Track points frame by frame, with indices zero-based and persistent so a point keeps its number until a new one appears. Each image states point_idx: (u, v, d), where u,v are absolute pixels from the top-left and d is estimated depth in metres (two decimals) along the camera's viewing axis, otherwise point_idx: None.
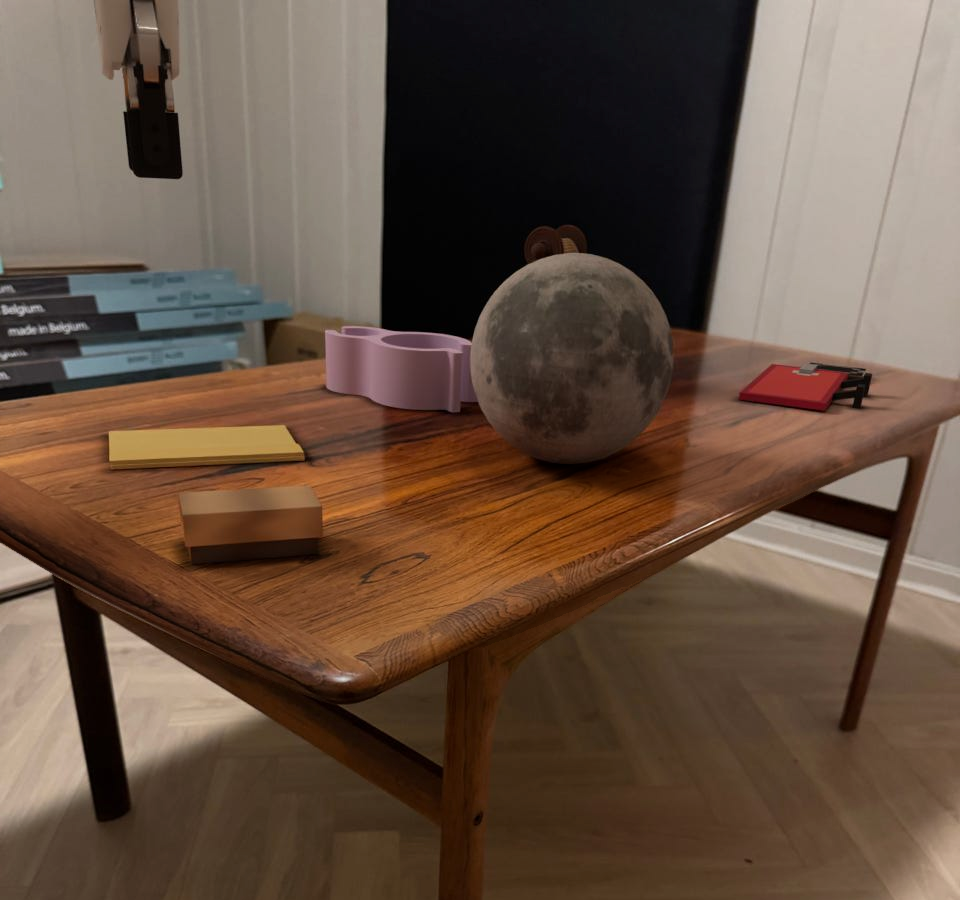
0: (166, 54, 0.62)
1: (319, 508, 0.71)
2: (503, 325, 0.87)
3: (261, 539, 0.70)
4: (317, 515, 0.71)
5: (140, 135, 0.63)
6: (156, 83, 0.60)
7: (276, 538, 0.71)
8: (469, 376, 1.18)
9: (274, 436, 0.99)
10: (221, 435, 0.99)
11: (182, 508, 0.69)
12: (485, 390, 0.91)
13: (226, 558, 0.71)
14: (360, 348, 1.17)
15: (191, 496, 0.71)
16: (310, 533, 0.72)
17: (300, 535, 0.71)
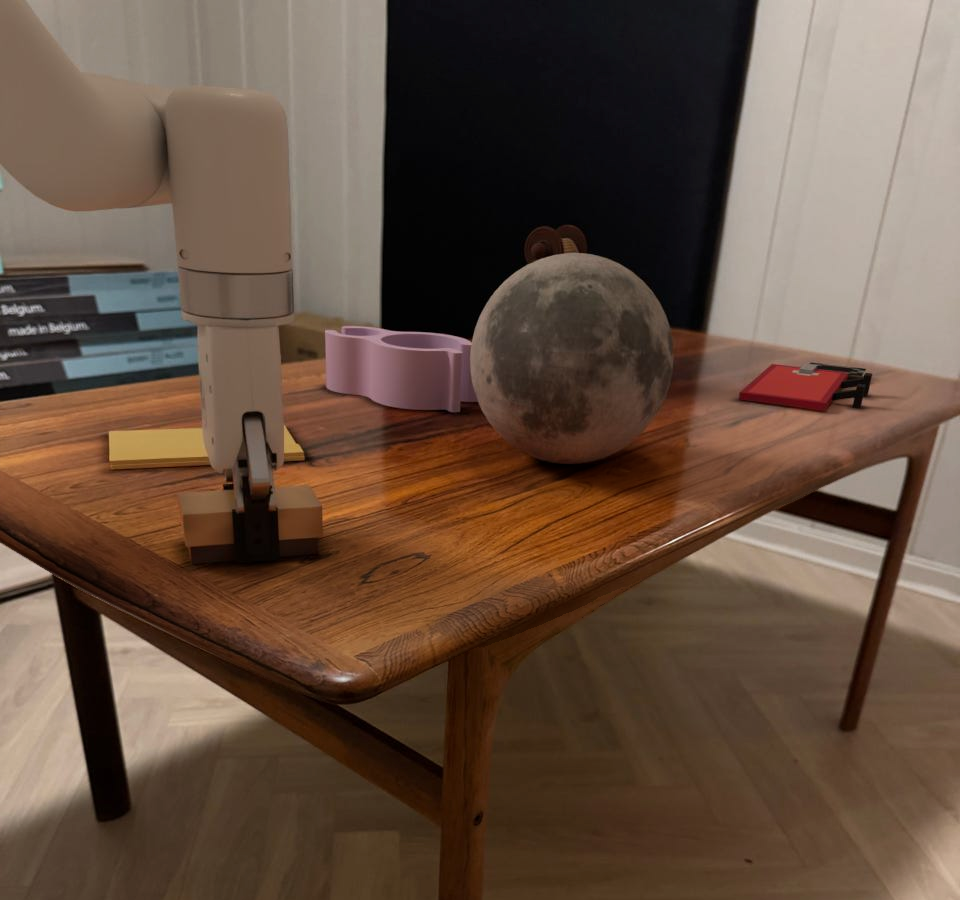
0: (270, 459, 0.67)
1: (319, 508, 0.71)
2: (503, 325, 0.87)
3: None
4: (317, 515, 0.71)
5: (243, 530, 0.69)
6: None
7: None
8: (469, 376, 1.18)
9: None
10: None
11: (182, 508, 0.69)
12: (485, 390, 0.91)
13: (226, 558, 0.71)
14: (360, 348, 1.17)
15: (191, 496, 0.71)
16: (310, 533, 0.72)
17: (300, 535, 0.71)
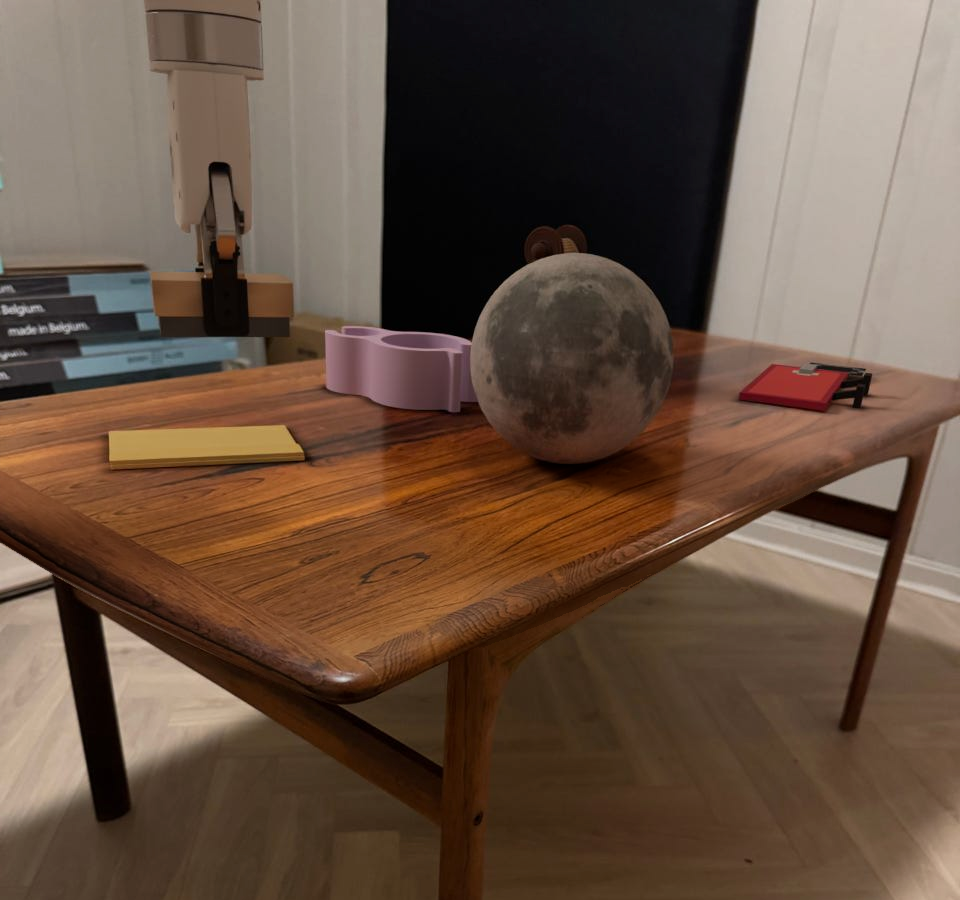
0: (239, 223, 0.67)
1: (290, 284, 0.71)
2: (503, 325, 0.87)
3: None
4: (287, 293, 0.71)
5: (212, 300, 0.69)
6: None
7: None
8: (469, 376, 1.18)
9: (274, 436, 0.99)
10: (221, 435, 0.99)
11: (152, 277, 0.69)
12: (485, 390, 0.91)
13: (196, 333, 0.70)
14: (360, 348, 1.17)
15: (163, 273, 0.71)
16: (281, 312, 0.71)
17: (271, 313, 0.71)
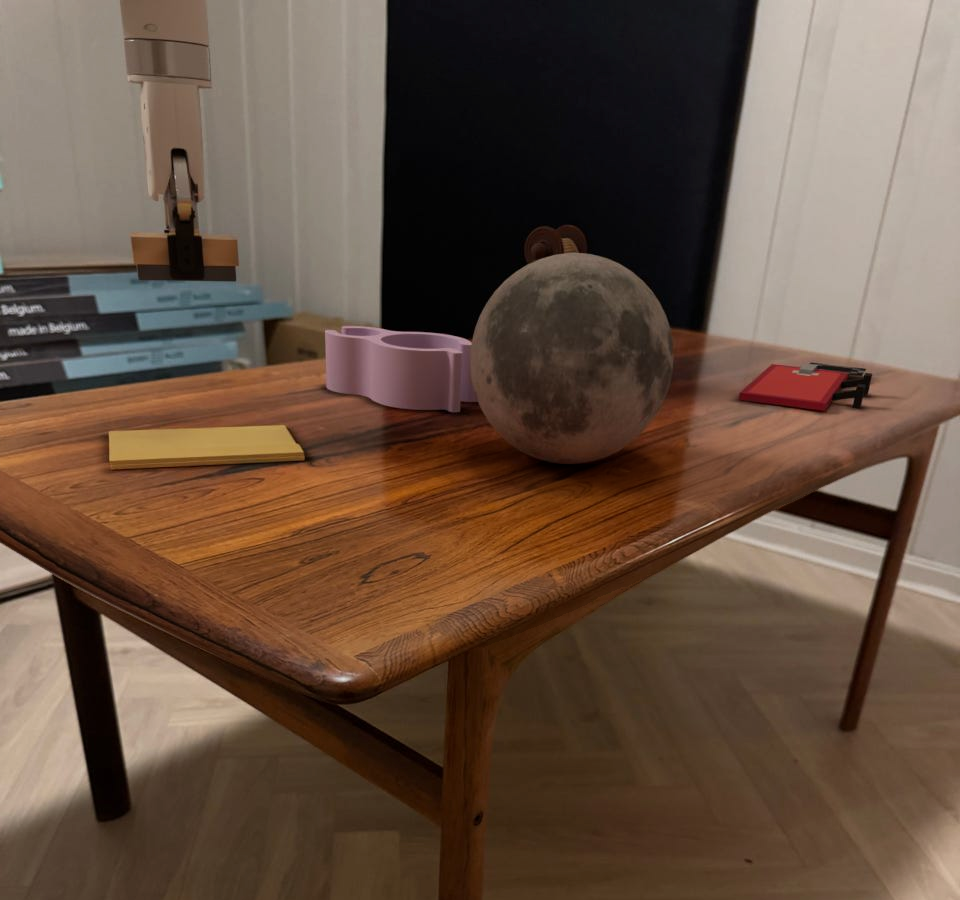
0: (194, 194, 0.91)
1: (235, 241, 0.95)
2: (503, 325, 0.87)
3: None
4: (233, 247, 0.95)
5: (176, 252, 0.93)
6: None
7: None
8: (469, 376, 1.18)
9: (274, 436, 0.99)
10: (221, 435, 0.99)
11: (131, 235, 0.93)
12: (485, 390, 0.91)
13: (165, 277, 0.94)
14: (360, 348, 1.17)
15: (139, 233, 0.95)
16: (229, 262, 0.95)
17: (221, 262, 0.95)
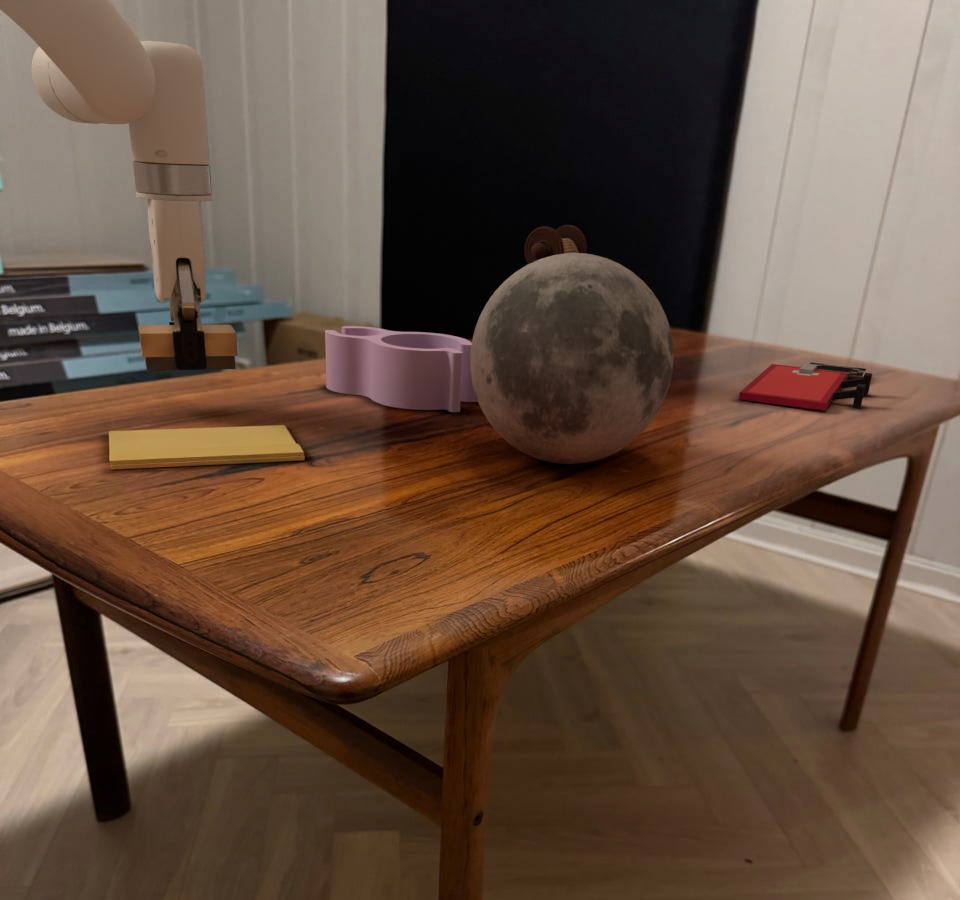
0: (197, 295, 1.00)
1: (234, 334, 1.04)
2: (503, 325, 0.87)
3: None
4: (232, 339, 1.04)
5: (180, 346, 1.02)
6: (191, 319, 1.00)
7: None
8: (469, 376, 1.18)
9: (274, 436, 0.99)
10: (221, 435, 0.99)
11: (140, 331, 1.02)
12: (485, 390, 0.91)
13: (170, 368, 1.04)
14: (360, 348, 1.17)
15: (147, 326, 1.04)
16: (228, 352, 1.05)
17: (221, 353, 1.05)
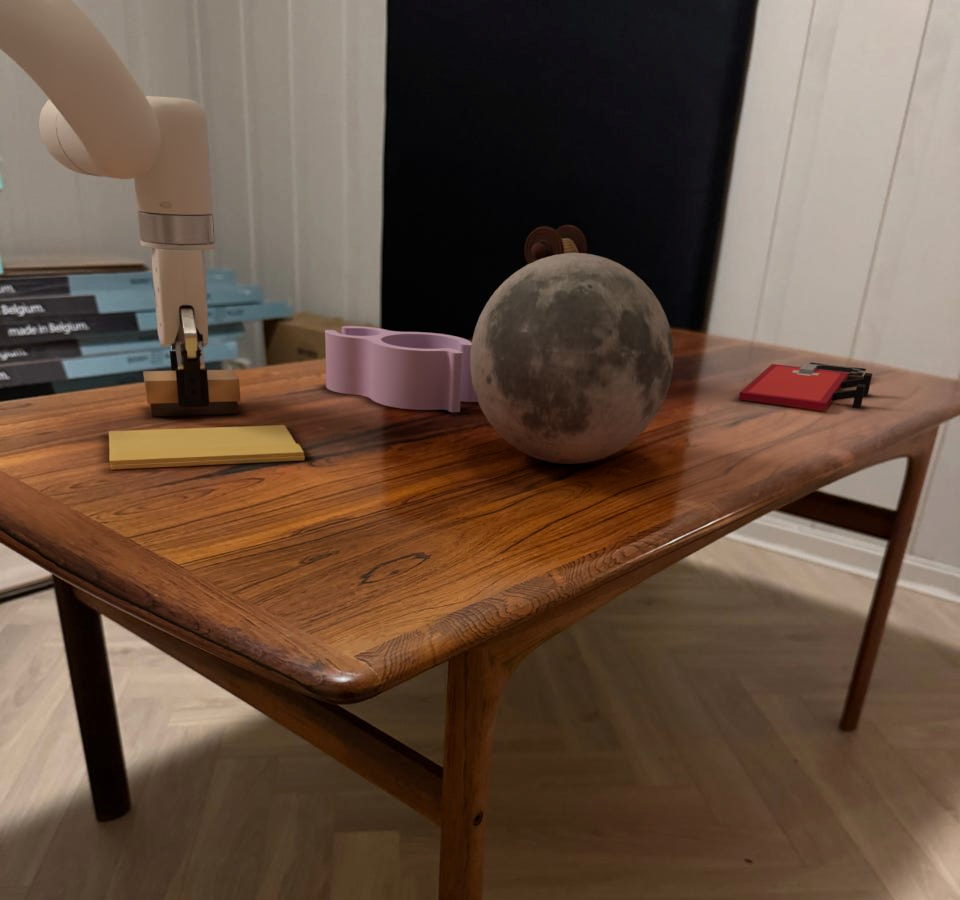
0: (200, 335, 1.01)
1: (237, 380, 1.06)
2: (503, 325, 0.87)
3: None
4: (235, 385, 1.07)
5: (183, 383, 1.02)
6: (194, 358, 0.99)
7: None
8: (469, 376, 1.18)
9: (274, 436, 0.99)
10: (221, 435, 0.99)
11: (145, 378, 1.04)
12: (485, 390, 0.91)
13: (175, 413, 1.06)
14: (360, 348, 1.17)
15: (152, 373, 1.07)
16: (231, 398, 1.07)
17: (224, 399, 1.07)
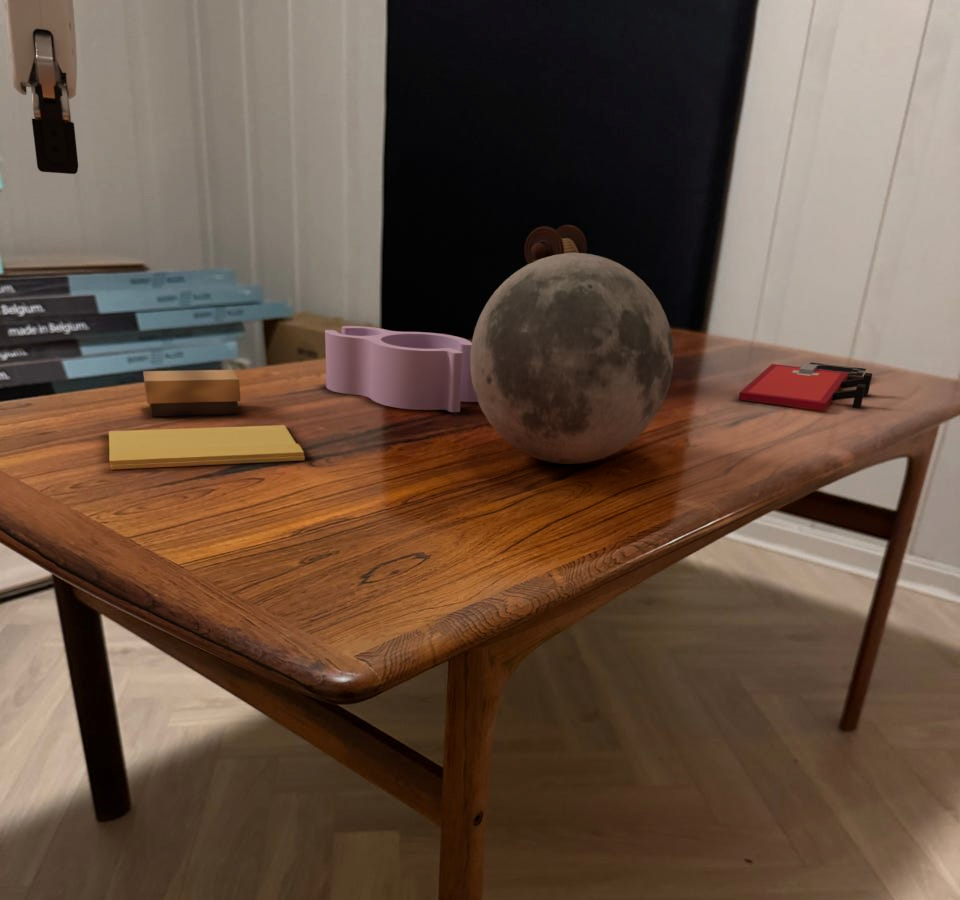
0: (63, 76, 0.80)
1: (237, 380, 1.06)
2: (503, 325, 0.87)
3: (198, 400, 1.06)
4: (235, 385, 1.07)
5: (42, 139, 0.81)
6: (53, 99, 0.78)
7: (208, 400, 1.06)
8: (469, 376, 1.18)
9: (274, 436, 0.99)
10: (221, 435, 0.99)
11: (145, 378, 1.04)
12: (485, 390, 0.91)
13: (175, 413, 1.06)
14: (360, 348, 1.17)
15: (152, 373, 1.07)
16: (231, 398, 1.07)
17: (224, 399, 1.07)
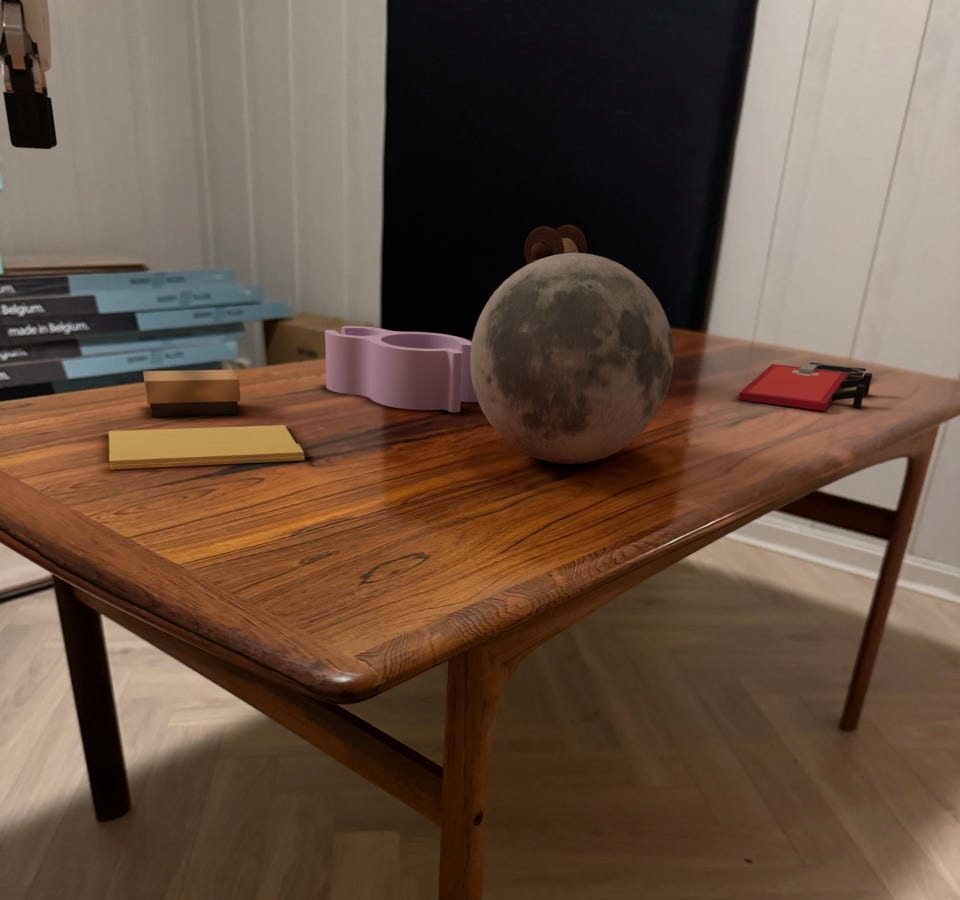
0: (35, 47, 0.77)
1: (237, 380, 1.06)
2: (503, 325, 0.87)
3: (198, 400, 1.06)
4: (235, 385, 1.07)
5: (15, 113, 0.78)
6: (24, 70, 0.75)
7: (208, 400, 1.06)
8: (469, 376, 1.18)
9: (274, 436, 0.99)
10: (221, 435, 0.99)
11: (145, 378, 1.04)
12: (485, 390, 0.91)
13: (175, 413, 1.06)
14: (360, 348, 1.17)
15: (152, 373, 1.07)
16: (231, 398, 1.07)
17: (224, 399, 1.07)
